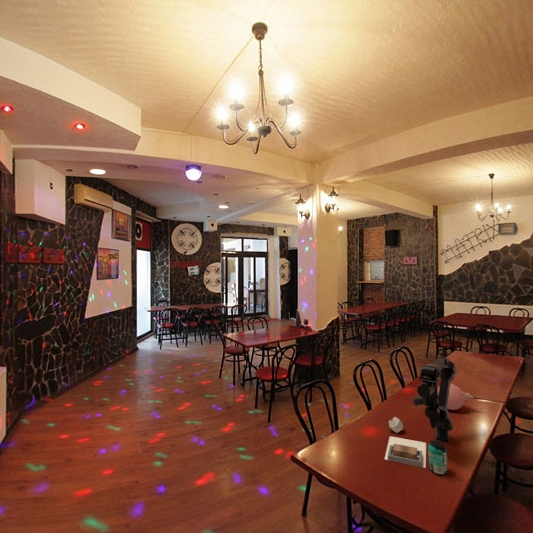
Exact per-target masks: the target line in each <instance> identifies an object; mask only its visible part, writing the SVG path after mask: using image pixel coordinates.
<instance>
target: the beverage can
mask: <svg viewBox="0 0 533 533" xmlns="http://www.w3.org/2000/svg"><path fill="white" fill-rule="evenodd" d="M427 447H428V448H427V450H428V469H429V471H430V472H431V473H432V474H433V475H434V476H435V475H436V476H440V477H443V476H445V475H447V474H448V473H449V472H448V454H447V451H448V450H447V447H446V444H445V442H443V441H438V440H435V439H434V440H430V441H429V444H428V445H427Z"/></svg>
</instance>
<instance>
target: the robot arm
mask: <svg viewBox="0 0 533 533" xmlns="http://www.w3.org/2000/svg"><path fill="white" fill-rule="evenodd" d="M457 370H458V369H457V366H456V365H455V363H453V362H452V361H451V360H450V359H449V358H447V357H443V356H438V357H436V359H435V360H434V361H433V362H432V363H425V364H423V365H422V367H421V368H420V373H419V379H418V380H419V381H421V383H420V385H419V386H418V387H417V389H416V392H417V394H418V395H416V396H413V397H412V402H413V405H414V407H419V406H425V408H424V416H425V417H427V418H428V420H429V423H430V426H431V429H435V434H434V436H435V439H434V440H436V441H440V442H442V443H451V439H450V438H451V437H450V433H449V432H450V431H453V430H454V429H453V428H454V427H453V426H454V425H453V424H454V423H453V422H452V420H451V417H450V414H449V413H450V412H449V411H448V409H447V405H448V397H449V390H450V384H451V382H452V381H453V380H454V379H455V377H456V374H457ZM439 382H440V383H439ZM438 383H439V384H438ZM439 386H440V388H439V395H438V387H439Z"/></svg>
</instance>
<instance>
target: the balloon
mask: <svg viewBox="0 0 533 533" xmlns="http://www.w3.org/2000/svg"><path fill="white" fill-rule="evenodd" d="M439 388H440V385H438V395H439ZM470 399H474V396H472V395H471V394H470V393H469V392H465V391H462V389H461V388H460V387H459V386H457V385H455V384H454V383H450V390H449V397H448V405H447V410H450V411H457V410H460V409H461V408H462V407H463V406H464V403H465V401H470Z"/></svg>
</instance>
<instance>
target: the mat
mask: <svg viewBox="0 0 533 533" xmlns="http://www.w3.org/2000/svg"><path fill="white" fill-rule="evenodd" d="M394 444H399V445H404V446H409V447H415V448H417V460H413V459H408V458H403V457H398V456H393V445H394ZM426 459H427V442H423V441H418V440H412V439H406V438H401V437H398V436H397V437H396V436H390V435H389V438H388V443H387V446H386V452H385V456H384V460H387V461H389V462H390V461H391V462H395V463H400V464H404V465H405V464H406V465H409V466H413V467H418V468H422V469H423V468H425V469H426V466H427V465H426V463H427V462H426V461H427V460H426Z"/></svg>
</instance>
